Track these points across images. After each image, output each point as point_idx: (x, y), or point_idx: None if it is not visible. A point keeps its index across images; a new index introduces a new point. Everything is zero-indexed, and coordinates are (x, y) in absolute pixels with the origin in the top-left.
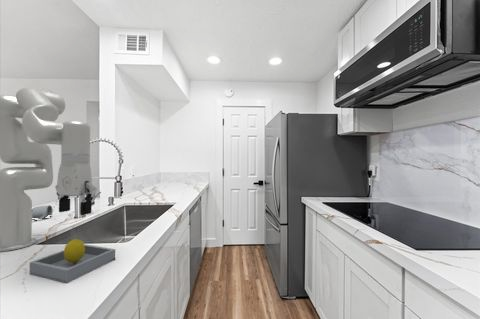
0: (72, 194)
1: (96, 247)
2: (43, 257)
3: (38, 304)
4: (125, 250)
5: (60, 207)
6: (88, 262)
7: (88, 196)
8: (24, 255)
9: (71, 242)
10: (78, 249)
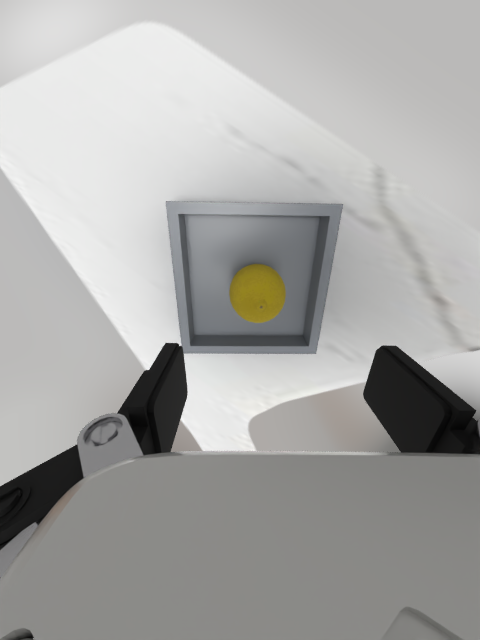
0: (185, 467)
1: (247, 347)
2: (334, 245)
3: (125, 92)
4: (213, 382)
5: (402, 365)
6: (174, 271)
7: (3, 489)
8: (463, 283)
9: (256, 289)
10: (230, 289)
